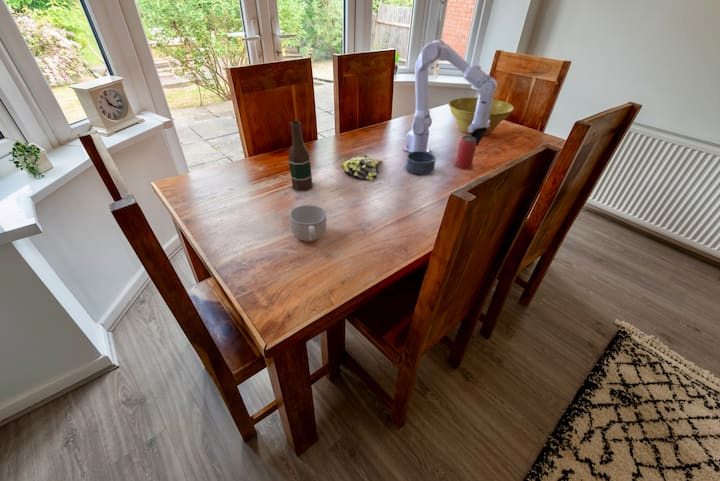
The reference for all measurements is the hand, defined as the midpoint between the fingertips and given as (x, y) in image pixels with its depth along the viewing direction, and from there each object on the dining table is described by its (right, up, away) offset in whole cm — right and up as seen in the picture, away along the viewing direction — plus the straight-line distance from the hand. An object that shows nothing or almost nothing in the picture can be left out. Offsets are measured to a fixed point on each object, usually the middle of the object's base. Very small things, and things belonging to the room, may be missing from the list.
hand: (474, 145), depth 136 cm
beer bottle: (-71, -20, -14) cm, 75 cm away
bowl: (-24, -11, -2) cm, 26 cm away
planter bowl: (+13, +18, +36) cm, 42 cm away
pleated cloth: (-46, -11, -2) cm, 48 cm away
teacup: (-64, -40, -40) cm, 85 cm away
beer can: (-5, -9, +1) cm, 10 cm away
